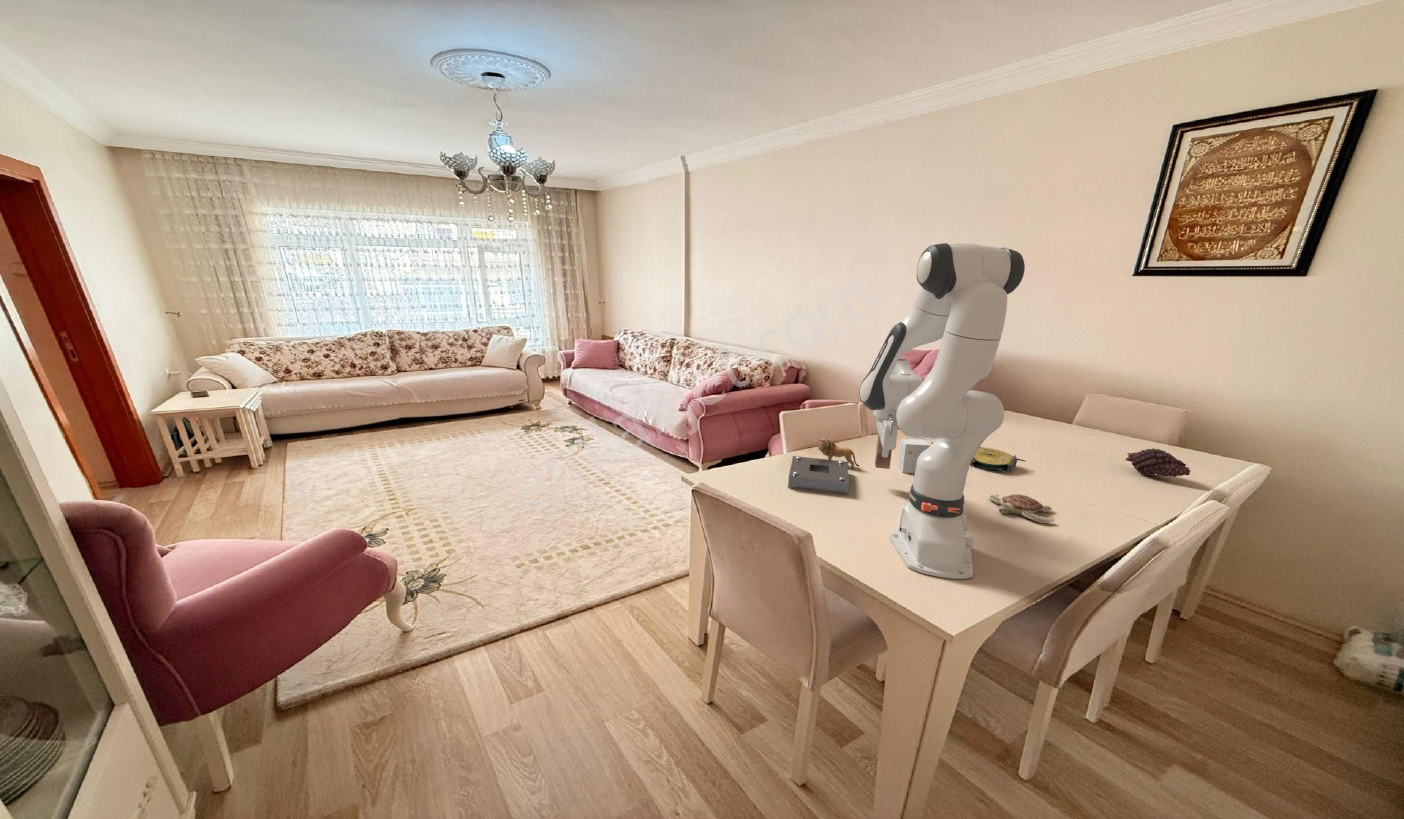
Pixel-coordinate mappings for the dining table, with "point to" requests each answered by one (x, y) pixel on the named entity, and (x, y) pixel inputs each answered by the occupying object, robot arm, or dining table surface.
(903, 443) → the small box
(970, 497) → the dining table surface
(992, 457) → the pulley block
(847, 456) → the lion figurine
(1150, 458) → the pine cone
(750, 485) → the dining table surface
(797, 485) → the slotted grey base block
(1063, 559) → the dining table surface
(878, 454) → the brown wooden block
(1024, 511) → the decorative turtle
